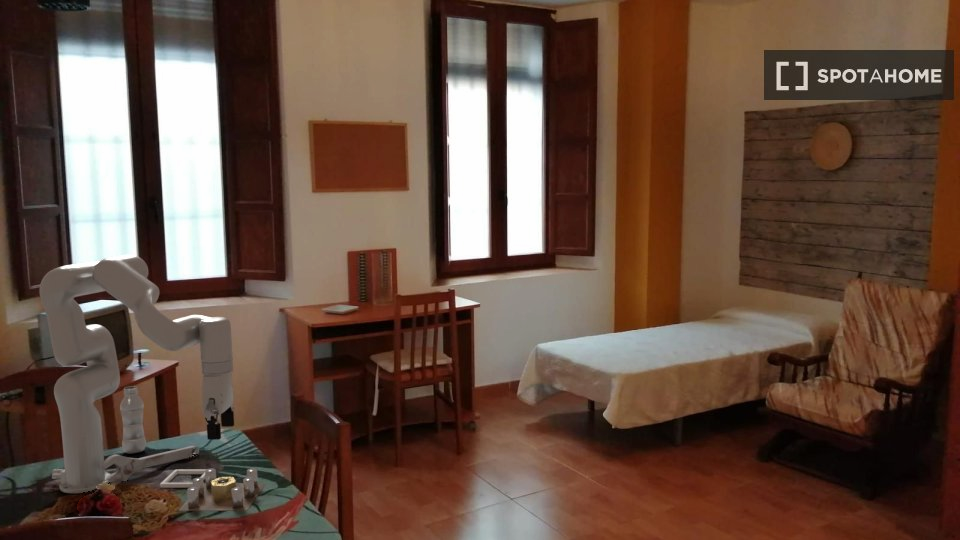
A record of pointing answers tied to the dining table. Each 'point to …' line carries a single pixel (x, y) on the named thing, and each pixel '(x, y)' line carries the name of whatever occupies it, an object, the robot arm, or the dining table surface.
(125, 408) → the plastic bottle
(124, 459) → the wrench
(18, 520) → the dining table surface
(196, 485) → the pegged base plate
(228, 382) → the robot arm
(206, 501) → the board
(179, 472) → the white square frame
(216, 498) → the nut
